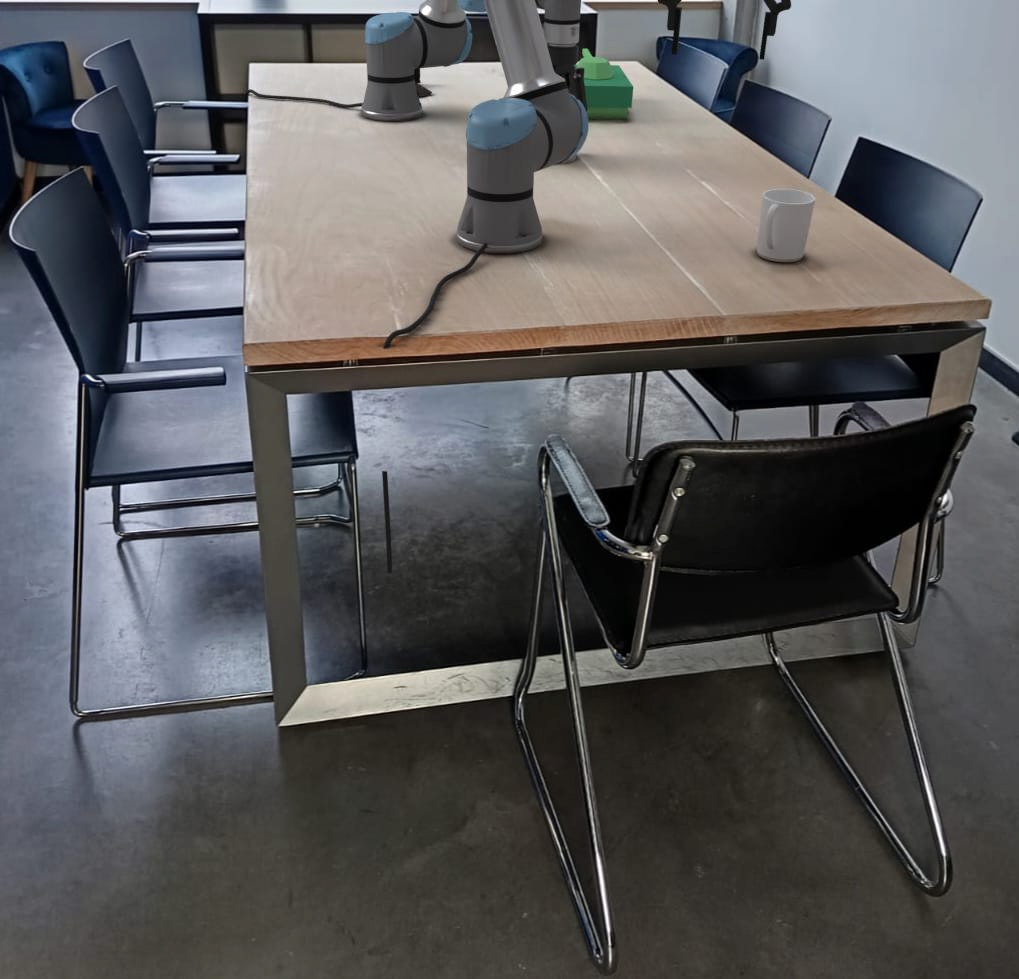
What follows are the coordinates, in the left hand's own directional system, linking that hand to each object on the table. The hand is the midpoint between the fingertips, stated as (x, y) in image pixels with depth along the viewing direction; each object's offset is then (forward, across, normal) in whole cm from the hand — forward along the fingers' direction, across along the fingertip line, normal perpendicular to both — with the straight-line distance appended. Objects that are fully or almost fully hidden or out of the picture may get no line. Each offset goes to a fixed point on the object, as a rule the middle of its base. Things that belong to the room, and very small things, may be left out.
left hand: (556, 150), depth 244 cm
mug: (+2, -21, -70) cm, 73 cm away
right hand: (-32, -32, -60) cm, 75 cm away
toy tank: (+2, +45, +28) cm, 53 cm away
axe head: (+2, +21, +74) cm, 77 cm away
